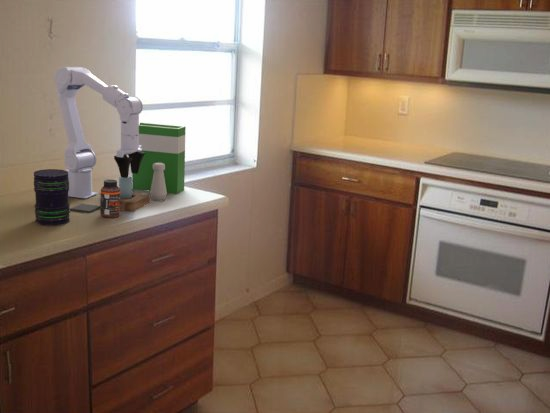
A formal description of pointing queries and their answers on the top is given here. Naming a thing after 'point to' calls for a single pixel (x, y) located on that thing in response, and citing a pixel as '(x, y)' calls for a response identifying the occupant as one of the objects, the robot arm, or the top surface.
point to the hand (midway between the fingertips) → (129, 175)
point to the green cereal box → (161, 156)
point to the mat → (85, 208)
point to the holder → (134, 202)
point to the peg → (125, 187)
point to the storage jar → (51, 197)
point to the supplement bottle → (110, 199)
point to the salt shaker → (158, 182)
